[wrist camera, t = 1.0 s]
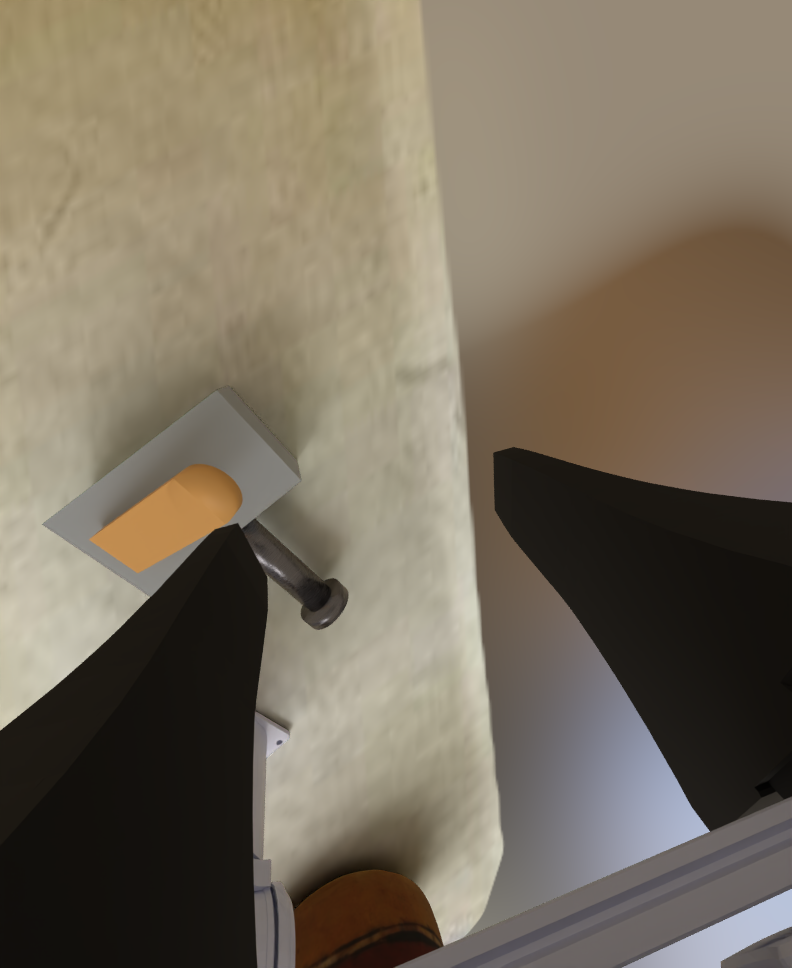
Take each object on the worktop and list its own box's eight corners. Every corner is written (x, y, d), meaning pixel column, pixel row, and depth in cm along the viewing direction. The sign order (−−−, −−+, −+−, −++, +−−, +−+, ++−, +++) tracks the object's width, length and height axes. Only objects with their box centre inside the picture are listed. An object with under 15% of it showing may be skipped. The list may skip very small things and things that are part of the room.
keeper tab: (149, 561, 18) (137, 573, 17) (102, 527, 17) (88, 539, 16) (255, 500, 14) (246, 512, 14) (205, 453, 13) (193, 464, 13)
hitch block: (176, 556, 22) (153, 599, 18) (91, 492, 20) (41, 524, 16) (297, 460, 23) (301, 480, 19) (229, 385, 20) (216, 389, 16)
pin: (343, 578, 26) (352, 606, 23) (308, 607, 26) (312, 639, 23) (234, 472, 21) (226, 490, 18) (190, 507, 21) (175, 531, 18)
